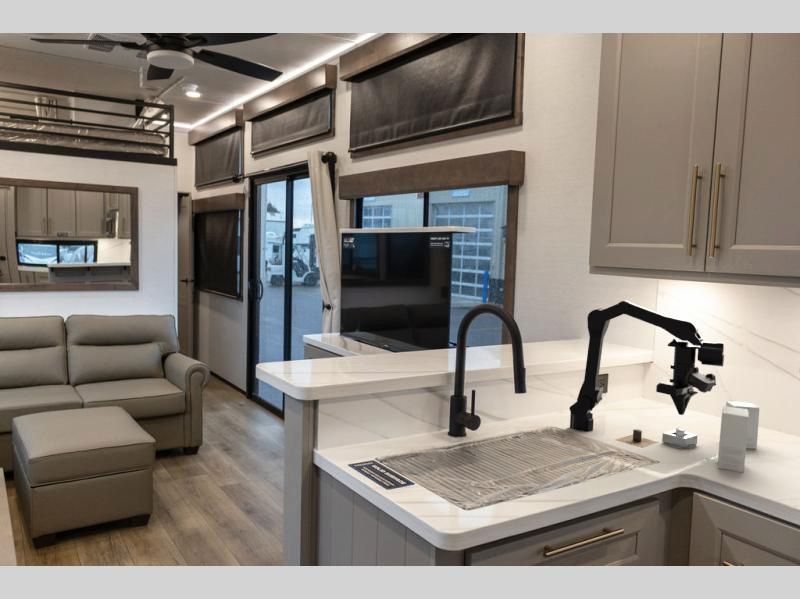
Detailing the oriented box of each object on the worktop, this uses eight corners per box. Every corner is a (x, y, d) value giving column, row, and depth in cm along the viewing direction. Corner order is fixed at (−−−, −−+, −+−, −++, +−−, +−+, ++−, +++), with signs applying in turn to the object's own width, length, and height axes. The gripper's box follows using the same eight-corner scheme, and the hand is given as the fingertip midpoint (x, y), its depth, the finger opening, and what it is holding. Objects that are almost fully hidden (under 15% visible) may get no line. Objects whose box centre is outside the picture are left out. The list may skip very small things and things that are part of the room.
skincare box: (718, 460, 178) (721, 405, 177) (744, 464, 175) (748, 408, 174) (717, 468, 170) (721, 412, 169) (745, 473, 167) (749, 415, 166)
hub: (657, 446, 189) (658, 428, 189) (672, 441, 195) (673, 423, 194) (686, 454, 182) (687, 435, 182) (701, 448, 188) (702, 430, 187)
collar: (662, 441, 189) (662, 433, 189) (674, 437, 193) (675, 429, 193) (684, 447, 183) (685, 438, 183) (696, 443, 188) (697, 435, 187)
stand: (614, 442, 191) (615, 429, 191) (631, 438, 197) (632, 424, 197) (642, 450, 184) (642, 436, 184) (658, 445, 190) (659, 431, 189)
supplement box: (757, 449, 189) (760, 407, 188) (730, 447, 190) (733, 405, 189) (749, 442, 196) (751, 402, 195) (723, 440, 197) (725, 400, 196)
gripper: (693, 370, 174) (689, 425, 176) (727, 364, 185) (724, 416, 186) (656, 363, 183) (653, 416, 185) (691, 358, 194) (688, 408, 195)
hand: (681, 414), depth 188 cm, fingers closed
